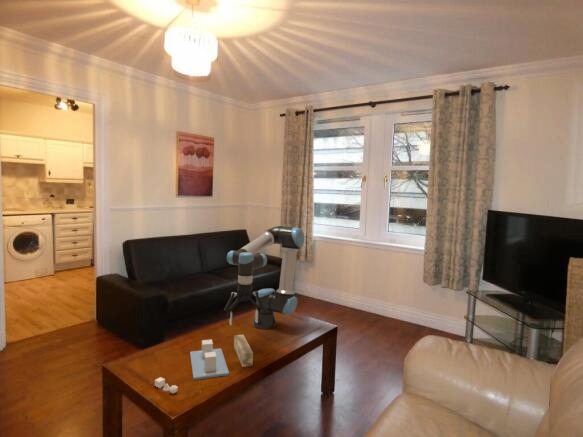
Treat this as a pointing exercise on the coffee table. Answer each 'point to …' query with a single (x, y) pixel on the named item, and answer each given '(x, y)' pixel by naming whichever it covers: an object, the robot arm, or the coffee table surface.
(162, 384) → the game pieces
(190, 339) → the coffee table surface
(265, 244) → the robot arm
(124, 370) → the coffee table surface
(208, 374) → the blueprint board
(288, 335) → the coffee table surface
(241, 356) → the maple beam
